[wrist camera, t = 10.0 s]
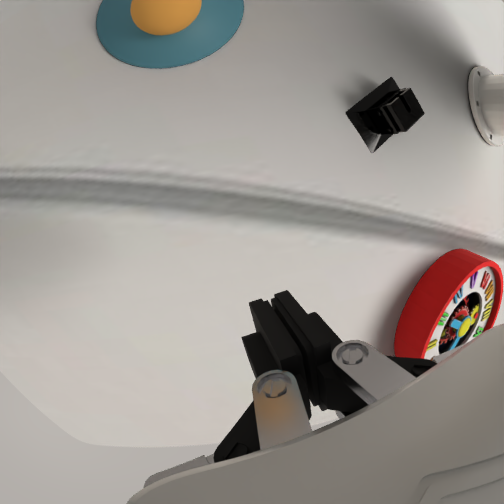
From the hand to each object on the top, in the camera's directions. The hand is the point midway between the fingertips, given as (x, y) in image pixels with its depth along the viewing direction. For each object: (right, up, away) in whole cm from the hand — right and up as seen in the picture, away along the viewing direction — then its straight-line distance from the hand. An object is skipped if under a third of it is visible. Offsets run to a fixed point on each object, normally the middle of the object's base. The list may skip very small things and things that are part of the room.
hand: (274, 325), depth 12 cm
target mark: (-8, +24, +5) cm, 26 cm away
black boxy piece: (+12, +17, +13) cm, 25 cm away
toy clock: (+27, -6, +24) cm, 37 cm away
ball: (-7, +22, +3) cm, 23 cm away
